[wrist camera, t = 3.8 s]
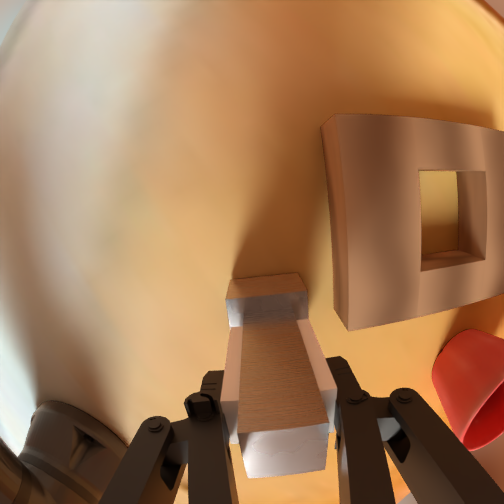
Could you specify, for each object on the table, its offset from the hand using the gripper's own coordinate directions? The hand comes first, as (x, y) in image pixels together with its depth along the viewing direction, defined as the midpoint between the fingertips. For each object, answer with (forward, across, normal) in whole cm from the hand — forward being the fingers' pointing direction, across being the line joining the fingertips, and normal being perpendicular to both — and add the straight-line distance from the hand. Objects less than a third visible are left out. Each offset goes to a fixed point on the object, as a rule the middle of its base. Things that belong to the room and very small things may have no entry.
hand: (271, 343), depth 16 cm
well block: (+6, +14, +6) cm, 17 cm away
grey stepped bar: (+6, 0, 0) cm, 6 cm away
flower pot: (+6, +20, -10) cm, 23 cm away
